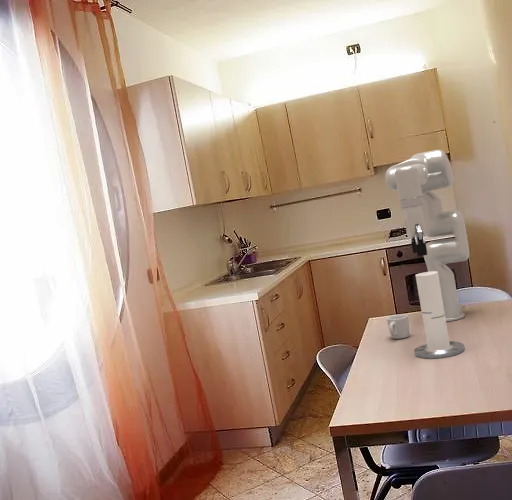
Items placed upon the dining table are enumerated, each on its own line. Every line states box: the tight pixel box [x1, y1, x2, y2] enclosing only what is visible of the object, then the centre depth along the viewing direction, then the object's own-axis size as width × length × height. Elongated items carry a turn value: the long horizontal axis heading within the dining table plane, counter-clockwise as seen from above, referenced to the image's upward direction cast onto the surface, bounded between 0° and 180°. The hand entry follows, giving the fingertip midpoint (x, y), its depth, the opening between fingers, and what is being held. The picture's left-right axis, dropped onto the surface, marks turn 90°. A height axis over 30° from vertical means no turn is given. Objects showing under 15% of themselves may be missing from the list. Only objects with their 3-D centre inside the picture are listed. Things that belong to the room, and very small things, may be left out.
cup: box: [386, 313, 410, 340], centre depth 231 cm, size 11×8×8 cm
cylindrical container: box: [415, 271, 450, 351], centre depth 204 cm, size 7×7×25 cm
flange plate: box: [413, 340, 466, 360], centre depth 205 cm, size 16×16×1 cm
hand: (420, 253), depth 207 cm, fingers open, 9 cm apart
